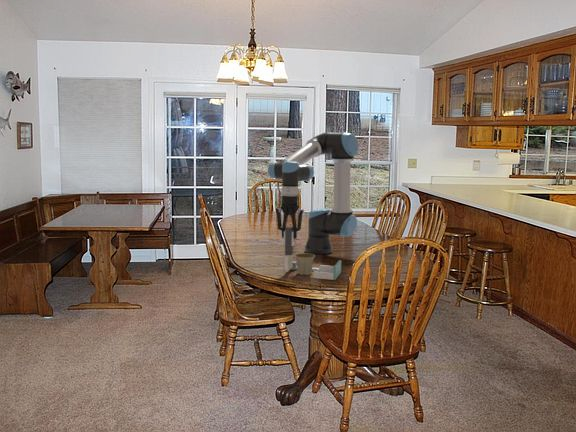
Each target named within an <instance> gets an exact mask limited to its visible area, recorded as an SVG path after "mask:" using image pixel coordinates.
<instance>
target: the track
mask: <svg viewBox="0 0 576 432" xmlns="http://www.w3.org/2000/svg"><path fill="white" fill-rule="evenodd" d="M290 270H291V271H292V270H294V271H298V269H297V266H296V267H292V268H291V269H290ZM314 271H318V272H320V267H319V268H318V267H312V271H311V272H314Z"/></svg>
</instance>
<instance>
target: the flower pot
mask: <svg viewBox="0 0 576 432" xmlns="http://www.w3.org/2000/svg"><path fill="white" fill-rule="evenodd" d="M294 257H295V260H296V262H297V269H298V270H297V274H298V275H301V276H304V275H306V276H309V275H312V272H313V271H312V268H313V265H314V264H313V263H314V259H315V257H316V254H312V253H307V252H306V253H305V252H304V253H303V252H302V253H297V254H294Z"/></svg>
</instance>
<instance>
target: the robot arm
mask: <svg viewBox="0 0 576 432" xmlns="http://www.w3.org/2000/svg"><path fill="white" fill-rule="evenodd" d="M358 152H359V141H358V139H357V137H356V135H355V134H354V133H350V132H330V131H329V132H327V131H326V132H322V133H319V134H317V135H316V136H315V135H314V136H313V137H311V139H309V140H307V141H306V143H305V145H303V146H301V147H300V148H299V149H298V150H296V151H294V152H293V153H291V154H290V155H288V156H287V157H286V158H284V159H283V160H281V161H280V162H278V163H277V162H272V163H270V164H268V167H267V173H268V176H269V178H271V179H275V180H281V181H282V182H281V194H282V196H281V205H280V207H277V208H275V212H276V213H275V214H276V220H277V230H280V231H281V238H283V246H285V227H287V222H288V217H289V216H290V217H291V224H292V227H293V232H292V244H291V246H293V247H294V246H295V240H296V239H297V235H298V234H297V233H298V231H301V230H302V221H303V214H304V212H305V209H301V208H300V207H299V196H298V195H299V182H302V181H303V182H304V181H305V182H306V181H310V180H311V179H312V178H313V177H314V175H315V171H314V168H313V166H312V165H310V164H307V163H308V162H309V161H311V159H314V158H317V157H319V156H322V155H330V156H331V158H330V159H331V160H332V161H333V207H332V208H331V209H330V208H321V209H313V210H310V211H309V212H308V222H307V223H308V229H307V230H308V231H307V232H308V233H307V236H308V237H307V239H306V242H305V245H304V253H305V252H306V253H308V254H313V255H328V254H331V253H333V245H332V242H331V237H330V236H331V235H334V236H341V237H349V236H352V235H353V234H354V233H355V230H356V228H357V223H358V220H357V219H358V218H357V216H356V215H355V214H353V213H354V212H353V209H352V208H351V170H352V169H351V168H352V167H351V164H352V163H351V162H352V161H354V157H355V156H356V155H357V154H358ZM282 213H283V219H282ZM296 213H298V219H296Z"/></svg>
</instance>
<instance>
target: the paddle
mask: <svg viewBox="0 0 576 432" xmlns="http://www.w3.org/2000/svg"><path fill="white" fill-rule="evenodd" d="M292 232H293V226H287V225H286V227H285V245H284V255H285V256H284V265H283V271H284V272H287V273H288V272H289V271H290V270H291V268H292V267H296V266H297V261H294V246H291V244H292Z"/></svg>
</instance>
